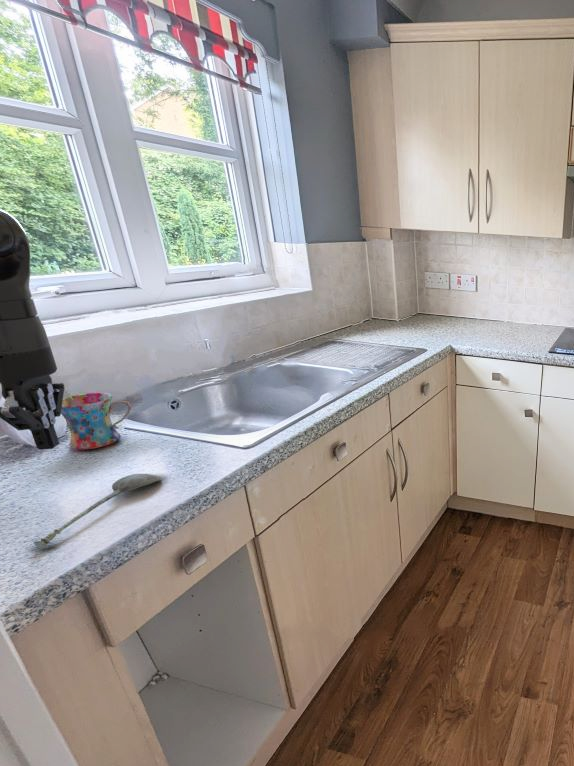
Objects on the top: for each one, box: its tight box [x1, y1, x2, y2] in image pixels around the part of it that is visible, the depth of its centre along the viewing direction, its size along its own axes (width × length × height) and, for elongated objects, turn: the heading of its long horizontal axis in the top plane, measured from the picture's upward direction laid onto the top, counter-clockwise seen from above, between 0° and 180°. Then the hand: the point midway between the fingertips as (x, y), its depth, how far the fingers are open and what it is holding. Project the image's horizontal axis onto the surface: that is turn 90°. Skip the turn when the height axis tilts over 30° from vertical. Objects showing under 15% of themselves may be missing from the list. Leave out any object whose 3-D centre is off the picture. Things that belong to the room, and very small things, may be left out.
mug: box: [61, 392, 132, 450], centre depth 101 cm, size 12×9×11 cm
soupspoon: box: [33, 473, 162, 550], centre depth 79 cm, size 22×3×7 cm
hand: (48, 447), depth 75 cm, fingers closed
